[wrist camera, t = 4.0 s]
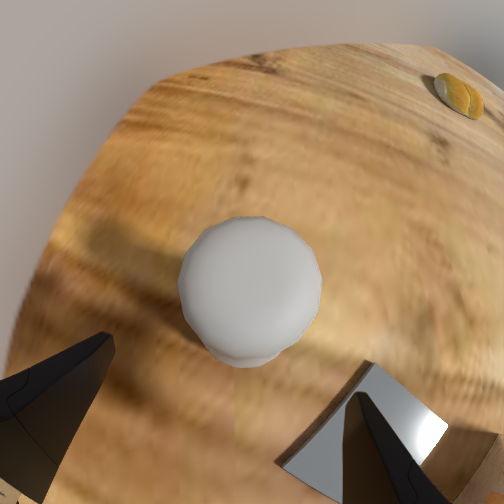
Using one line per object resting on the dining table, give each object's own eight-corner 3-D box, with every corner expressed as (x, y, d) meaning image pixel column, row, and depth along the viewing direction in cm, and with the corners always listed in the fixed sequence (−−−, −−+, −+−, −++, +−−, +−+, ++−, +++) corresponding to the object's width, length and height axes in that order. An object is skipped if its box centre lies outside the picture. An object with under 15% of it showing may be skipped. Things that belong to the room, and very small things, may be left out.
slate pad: (368, 516, 14) (371, 519, 14) (281, 465, 16) (282, 467, 16) (444, 424, 17) (448, 425, 16) (372, 362, 19) (375, 362, 19)
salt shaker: (195, 294, 20) (134, 204, 8) (273, 276, 21) (314, 166, 9) (214, 375, 19) (169, 408, 6) (295, 354, 19) (381, 349, 7)
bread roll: (484, 128, 30) (497, 112, 27) (442, 109, 30) (454, 90, 27) (467, 94, 33) (477, 79, 29) (426, 76, 33) (435, 58, 29)
